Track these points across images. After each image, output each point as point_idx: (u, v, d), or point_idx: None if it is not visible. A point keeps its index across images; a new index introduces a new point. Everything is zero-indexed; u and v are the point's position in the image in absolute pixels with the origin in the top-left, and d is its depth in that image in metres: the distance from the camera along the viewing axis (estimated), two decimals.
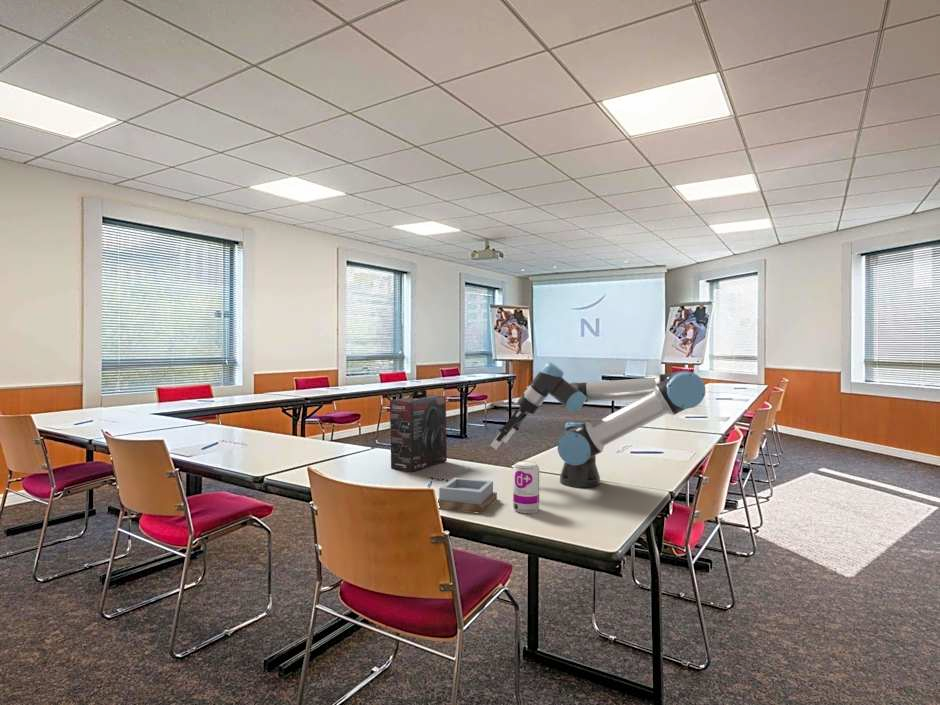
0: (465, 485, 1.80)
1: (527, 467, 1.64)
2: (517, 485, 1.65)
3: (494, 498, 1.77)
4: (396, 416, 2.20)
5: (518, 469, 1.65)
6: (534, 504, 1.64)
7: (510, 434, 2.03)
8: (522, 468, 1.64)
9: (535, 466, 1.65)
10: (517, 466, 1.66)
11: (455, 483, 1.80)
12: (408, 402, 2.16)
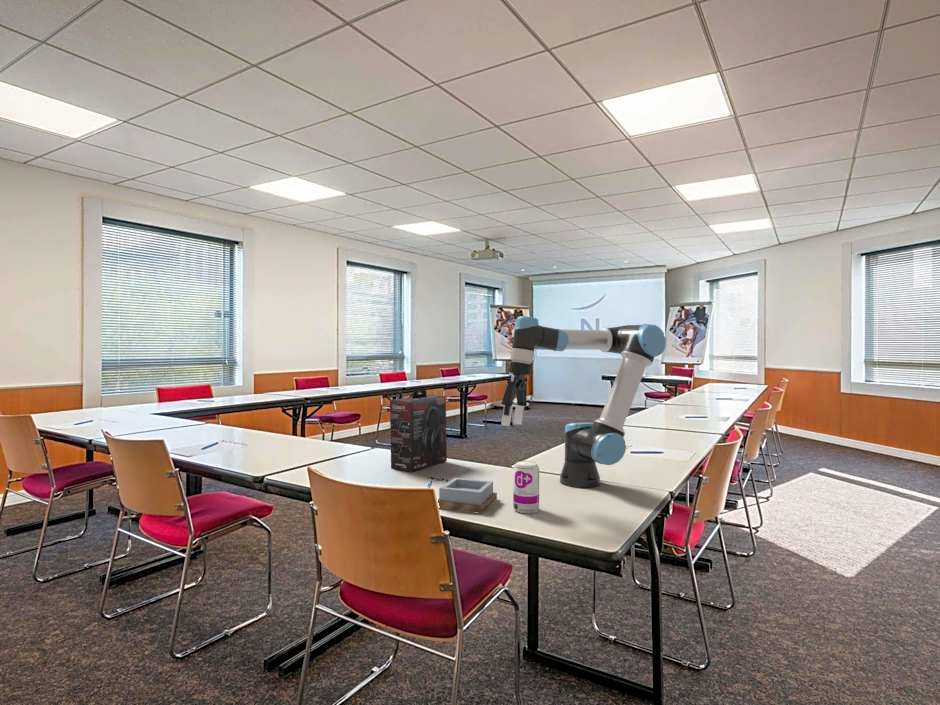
0: (465, 485, 1.80)
1: (527, 467, 1.64)
2: (517, 485, 1.65)
3: (494, 498, 1.77)
4: (397, 416, 2.20)
5: (518, 469, 1.65)
6: (534, 504, 1.64)
7: (520, 413, 1.82)
8: (522, 468, 1.64)
9: (535, 466, 1.65)
10: (517, 466, 1.66)
11: (455, 483, 1.80)
12: (408, 402, 2.16)
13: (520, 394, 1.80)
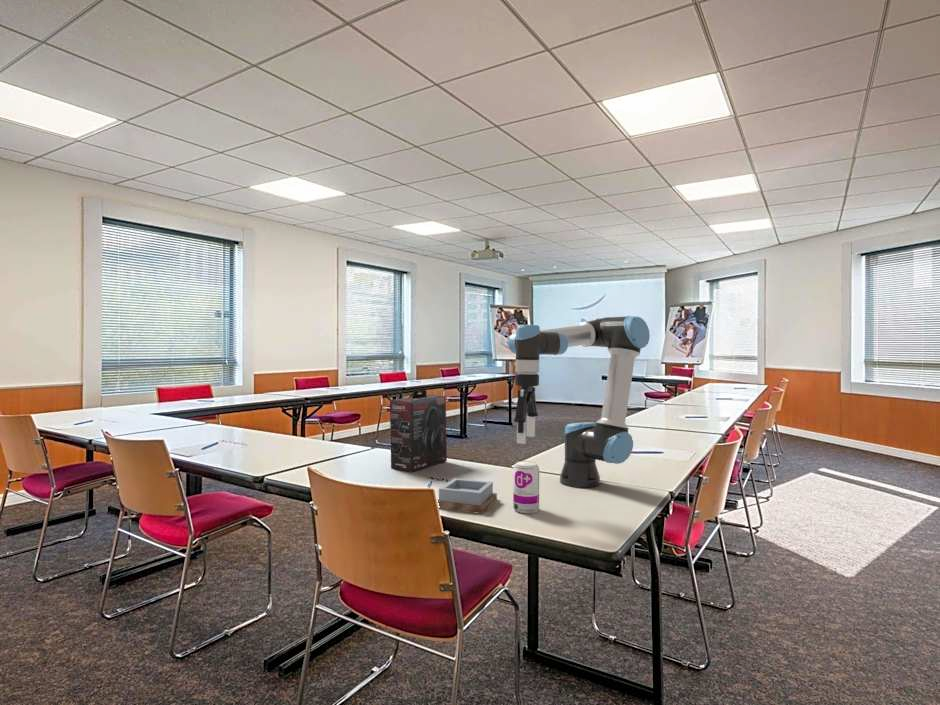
0: (465, 486, 1.80)
1: (527, 467, 1.64)
2: (517, 485, 1.65)
3: (494, 499, 1.77)
4: (396, 416, 2.20)
5: (518, 469, 1.65)
6: (534, 504, 1.64)
7: (533, 424, 1.73)
8: (522, 468, 1.64)
9: (535, 466, 1.65)
10: (517, 466, 1.66)
11: (455, 484, 1.80)
12: (408, 402, 2.16)
13: (530, 406, 1.71)
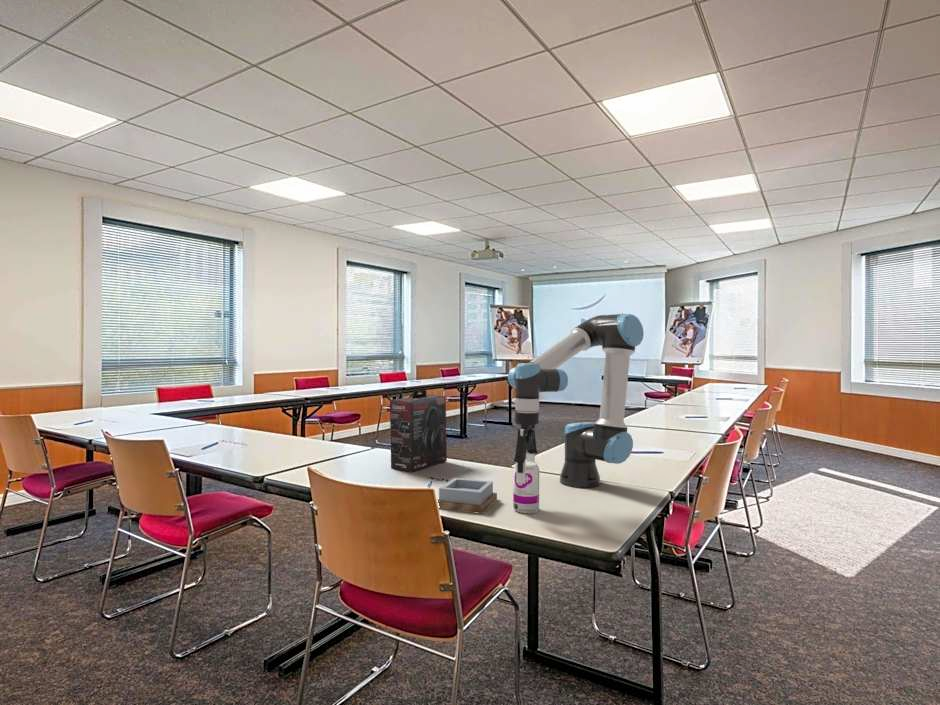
0: (465, 485, 1.80)
1: (527, 467, 1.64)
2: (517, 485, 1.65)
3: (494, 498, 1.77)
4: (396, 416, 2.20)
5: None
6: (534, 504, 1.64)
7: (532, 461, 1.73)
8: None
9: (535, 466, 1.65)
10: None
11: (455, 483, 1.80)
12: (408, 402, 2.16)
13: (529, 443, 1.72)
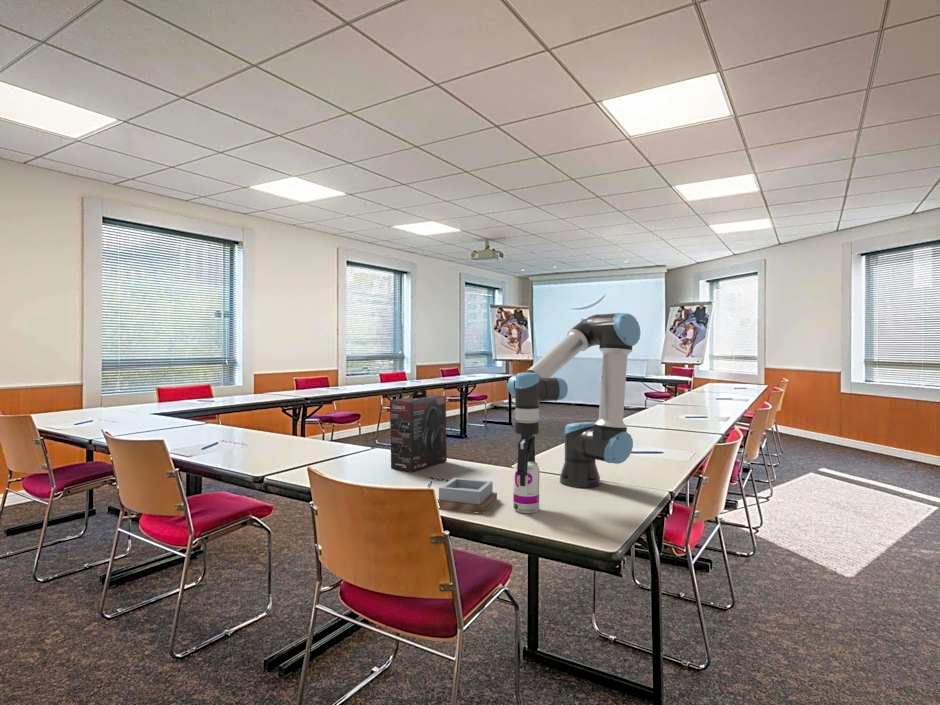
0: (465, 485, 1.80)
1: None
2: (517, 485, 1.65)
3: (494, 498, 1.77)
4: (396, 416, 2.20)
5: None
6: (534, 504, 1.64)
7: None
8: None
9: (535, 466, 1.65)
10: None
11: (455, 483, 1.80)
12: (408, 402, 2.16)
13: (529, 455, 1.70)
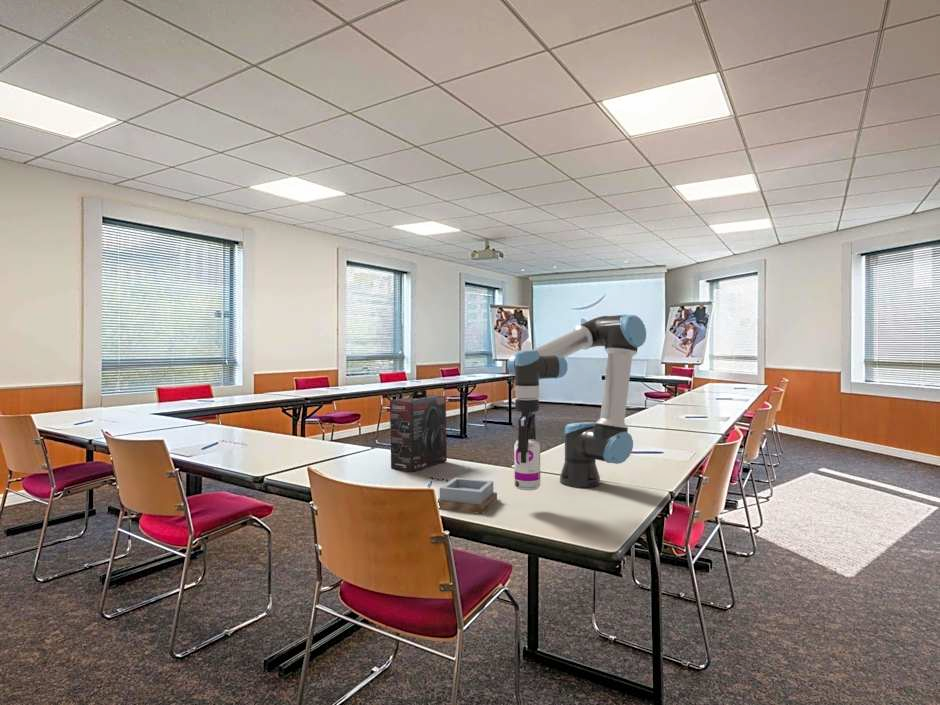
0: (465, 485, 1.80)
1: (528, 444, 1.64)
2: (518, 462, 1.65)
3: (494, 498, 1.77)
4: (396, 416, 2.20)
5: None
6: (535, 481, 1.65)
7: None
8: None
9: (536, 443, 1.65)
10: None
11: (455, 483, 1.80)
12: (408, 402, 2.16)
13: (529, 433, 1.70)
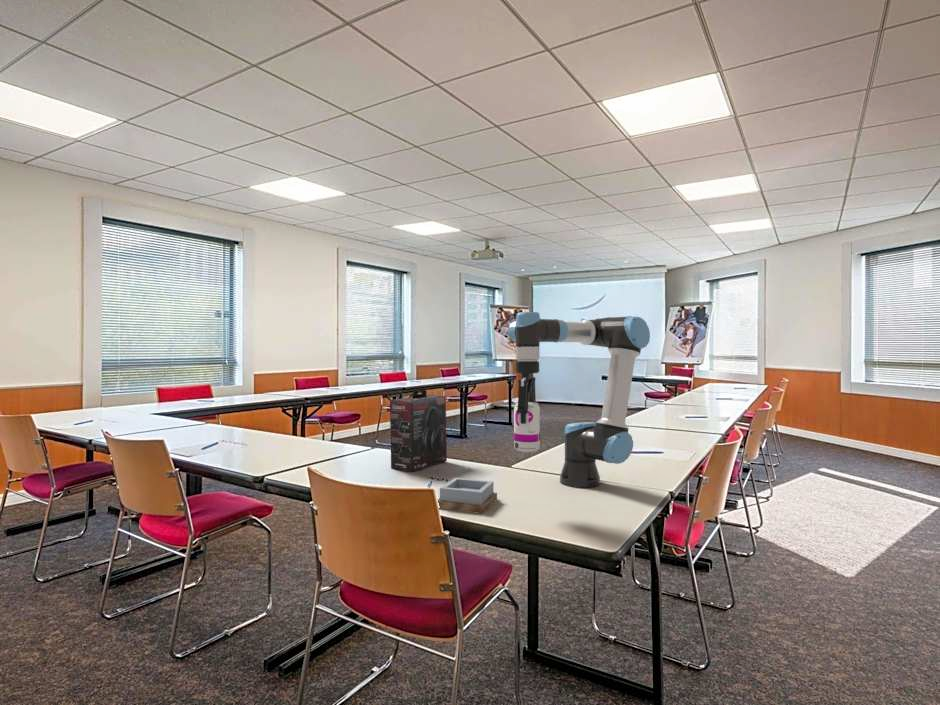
0: (465, 485, 1.80)
1: (528, 405, 1.64)
2: (518, 423, 1.65)
3: (494, 498, 1.77)
4: (396, 416, 2.20)
5: None
6: (534, 442, 1.64)
7: None
8: None
9: (536, 405, 1.65)
10: None
11: (455, 483, 1.80)
12: (408, 402, 2.16)
13: (529, 396, 1.70)
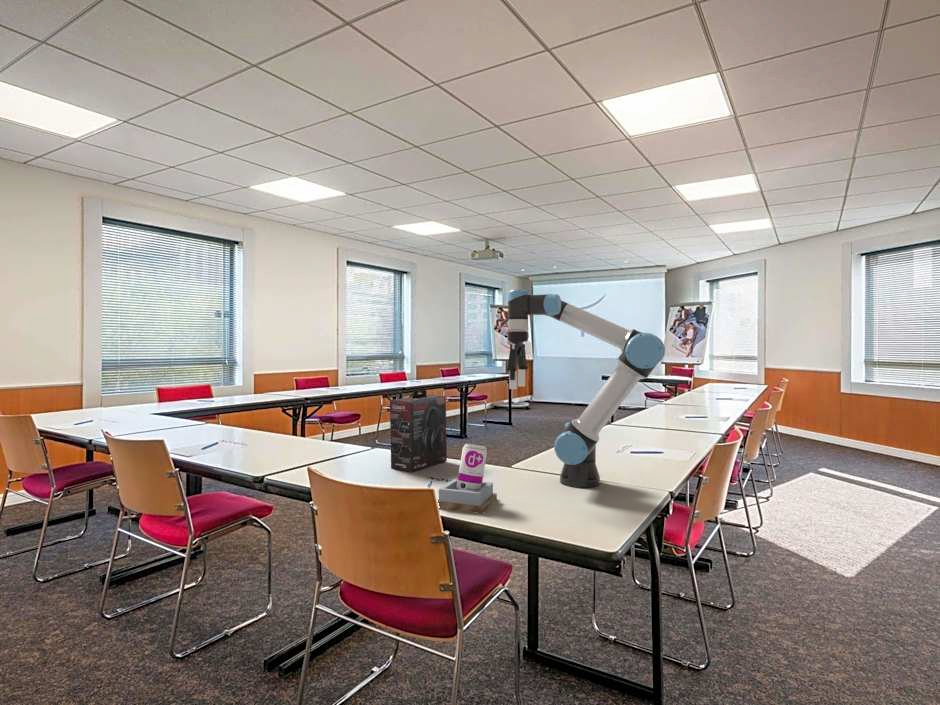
0: None
1: (480, 448, 1.72)
2: (468, 464, 1.71)
3: (494, 499, 1.77)
4: (396, 416, 2.20)
5: (471, 449, 1.72)
6: (480, 484, 1.72)
7: (523, 376, 2.03)
8: (476, 448, 1.72)
9: (485, 448, 1.75)
10: (470, 446, 1.73)
11: (455, 484, 1.79)
12: (408, 402, 2.16)
13: (521, 360, 2.01)
